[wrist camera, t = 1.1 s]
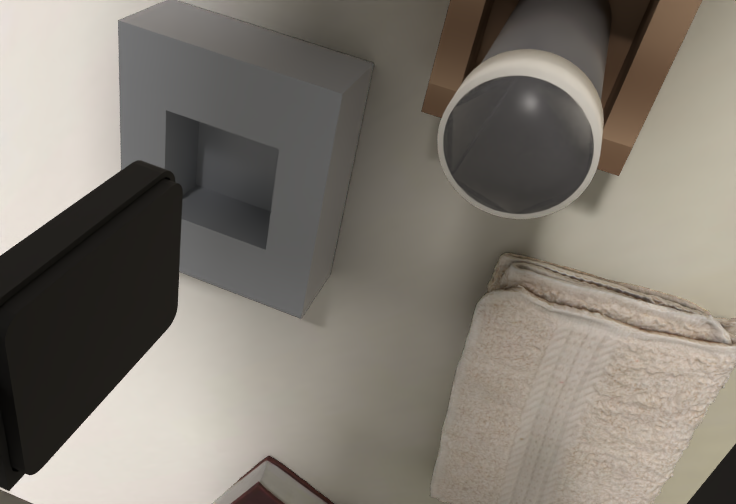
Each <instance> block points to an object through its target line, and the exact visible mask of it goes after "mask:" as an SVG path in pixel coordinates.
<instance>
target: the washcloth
mask: <svg viewBox="0 0 736 504" xmlns="http://www.w3.org/2000/svg"><path fill="white" fill-rule="evenodd" d="M487 289H488V291H487V293H485V294H484V296H483V297H482V298H481V299H480V300H479V301H478V303H477V305H476V308H475V311H474V314H473V318H472V323H471V325H470V331H469V333H468V336H467V339H466V341H465V346H464V349H463V352H462V356H461V358H460V360H459V363H458V366H457V369H456V373H455V377H454V381H453V385H452V390H451V395H450V400H449V405H448V410H447V414H446V418H445V420H444V424H443V427H442V436H441V440H440V447H439V451H438V456H437V460H436V463H435V467H434V470H433V475H432V480H431V486H430V490H431V494H430V497H433V498H438V500H439V501H440V502H446V503H447V502H448V503H451V504H653V502H654V499H655V498H656V496H658V495H659V494H660V493H661V488H662V486H663V485H664V484H665V482H666V481H667V480H668V479H669V478H670V477H673V469H674V467H675V465H676V463H677V462H679V458H680V457H682V455H683V450H685V449H686V448H688V446H689V444H690V440H691V439H692V436H693V433H694V431H695V429H696V428H697V427H698V426H699V424H700V423H702V421H703V418H704V416H705V415H706V412H707V410H708V406H709V405H711V403H712V402H715V398H716V397H717V396H718V393H719V390H720V389H721V388H725V383H727V381H728V379H729V378H730V373H731V372H732V370H733V369H734V368H735V366H736V336H735V335H736V318H731V319H725V318H715V317H713V316H712V315H711V314H710V312H709V311H707V310H704V309H702V308H701V307H699V306H698V305H696V304H694V303H693V302H691V301H689V300H686V299H682V298H679V297H677V296H673V295H669V294H666V293H662V292H659V291H655V290H651V289H649V288H645V287H641V286H637V285H632V284H627V283H622V282H615V281H612V280H606V279H604V278H601V277H597V276H595V275H591V274H588V273H585V272H581V271H578V270H576V269H572V268H569V267H566V266H560V265H557V264H554V263H550V262H547V261H541V260H539V259H535V258H531V257H527V256H523V255H516V254H512V253H504V254H502V255H501V256H500V257H499V262H498V263H497V264H496V266H495V268H494V273H493V275H492V278H491V280H490V281H489V283H488V285H487Z"/></svg>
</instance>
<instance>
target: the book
mask: <svg viewBox="0 0 736 504" xmlns="http://www.w3.org/2000/svg"><path fill="white" fill-rule="evenodd" d="M212 504H334V503H333V502H331V501H330V500H329V499H328V498H327V497H325V496H324V495H322V494H321V493H320V492H318V491H317V490H315V489H314V488H313V487H312V486H311V485H309V484H308V483H307V482H306V481H305V480H303V479H302V478H300V477H299V476H298V475H296V474H295V473H294V472H293V471H291V470H290V469H289V468H287V467H286V466H285V465H283V464H282V463H281V462H279V461H277V460H275V459H274V458H272V457H270V456H268V457H266V458H265V459H264V460H262V461H261V462H259V463H258V464H257V465H256V466H255V467H254V468H252V469H251V470H250V471H249V472H247V473H246V474H245V475H244V476H243V477H241V478H240V479H239V480H238V481H237V482H236V483H235V484H234V485H233V486H232V487H230V488H229V489H228V490H227V491H226V492H225V493H224V494H223V495H222V496H220V497H219V498H218V499H217V500H216V501H214V502H213V503H212Z"/></svg>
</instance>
